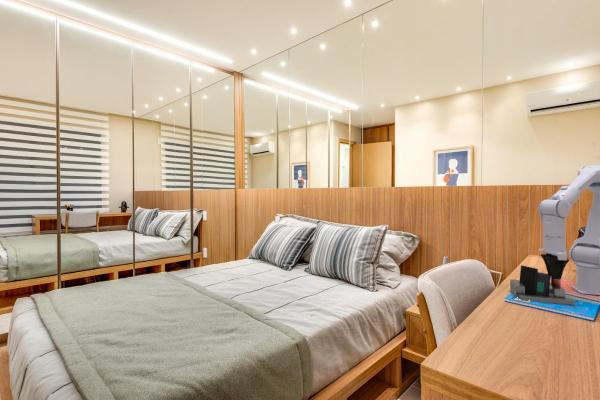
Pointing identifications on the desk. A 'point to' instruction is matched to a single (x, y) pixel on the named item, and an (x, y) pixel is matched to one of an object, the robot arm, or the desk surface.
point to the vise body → (519, 292)
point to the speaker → (535, 281)
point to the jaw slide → (556, 289)
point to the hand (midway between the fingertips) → (554, 277)
